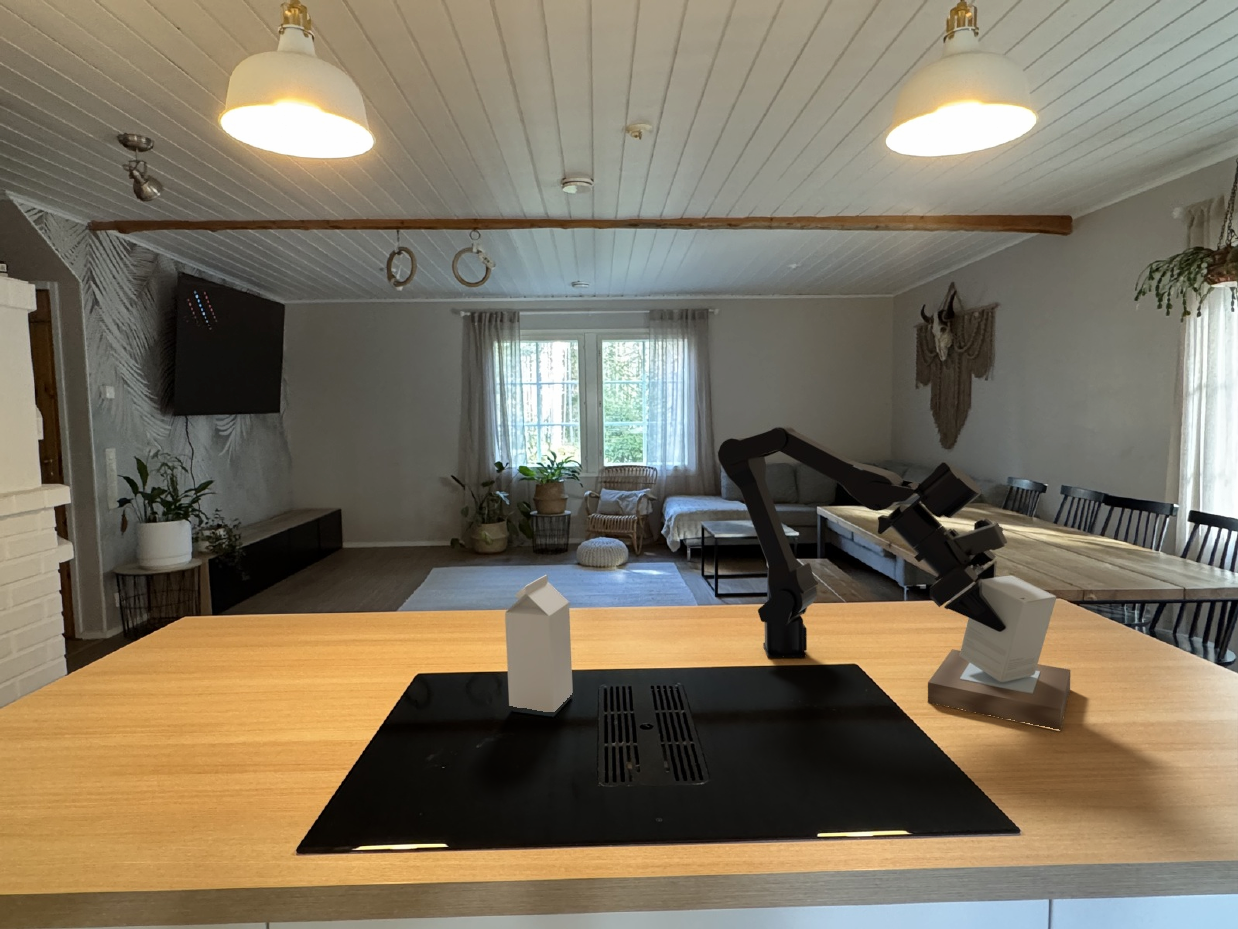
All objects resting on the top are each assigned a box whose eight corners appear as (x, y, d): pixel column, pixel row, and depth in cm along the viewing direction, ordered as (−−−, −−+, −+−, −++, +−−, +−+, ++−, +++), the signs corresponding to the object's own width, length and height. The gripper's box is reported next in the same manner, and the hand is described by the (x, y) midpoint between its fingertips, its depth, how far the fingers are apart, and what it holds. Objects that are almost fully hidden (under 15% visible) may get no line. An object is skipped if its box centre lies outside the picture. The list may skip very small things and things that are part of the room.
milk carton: (573, 698, 102) (568, 575, 100) (553, 719, 95) (548, 587, 94) (531, 693, 104) (525, 573, 103) (509, 713, 97) (503, 585, 96)
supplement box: (1036, 676, 96) (1060, 596, 93) (1000, 684, 93) (1023, 602, 90) (991, 648, 103) (1012, 573, 99) (956, 655, 100) (976, 578, 97)
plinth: (927, 702, 96) (927, 681, 96) (951, 667, 109) (952, 648, 109) (1060, 732, 87) (1060, 708, 86) (1070, 689, 99) (1070, 668, 99)
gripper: (956, 511, 91) (1050, 604, 85) (981, 495, 106) (1062, 574, 100) (895, 561, 96) (979, 652, 91) (926, 539, 111) (1001, 616, 105)
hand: (1008, 621), depth 96 cm, fingers closed on supplement box, 9 cm apart
